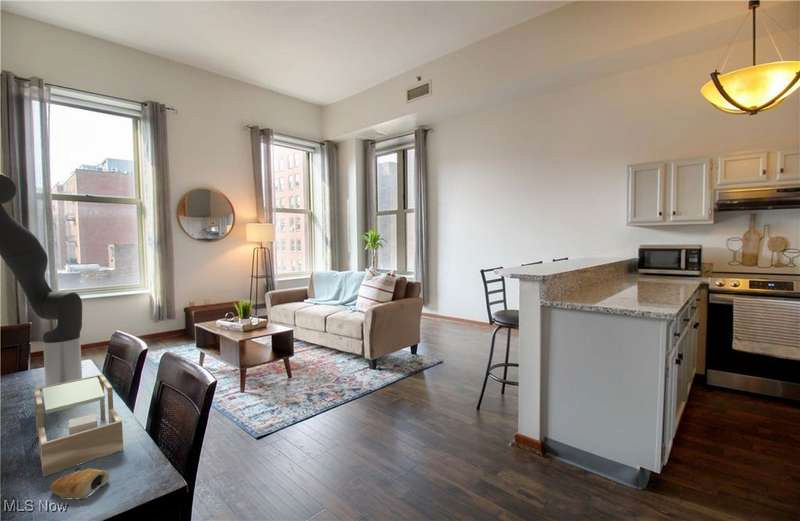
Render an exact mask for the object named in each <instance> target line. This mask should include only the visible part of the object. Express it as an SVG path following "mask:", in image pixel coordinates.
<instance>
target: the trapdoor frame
mask: <svg viewBox="0 0 800 521" xmlns="http://www.w3.org/2000/svg"><path fill="white" fill-rule="evenodd" d="M94 377H98V380H99V382H100V385H101V387H102V390H103V392H104V393H105V390H106V392H107V406H108V407H107V408H108V410H107V411H108V423H107V424H103V425H100V426H99V425H98V427H96V428H92V429H89V430H85V431H82V432H79V433H75V434H72V435H69V434H68V435H65V436H62V437H61V436H60V437H58V438H55V439H51V440H47V435H46V430H45V422H44V421H45V420H44V419H45V418H44V401H43V397H42V394H41V392H42V388H47V387H52V386H56V385H61V384H66V383H71V382H75V381H80V380H85V379H90V378H94ZM33 391H34V407H35V408H34V410H35V425H36V427H35V429H36V437H37V438H38V442H39V446H38V447H39V458H40V464H41V465H40V466H41V470H42V471H41V472H42V477H43V478H45V477H48V476H51V475H54V474H56V472H57V473H59V472H61V471H60V470H62V471H64V470H63V469H65V470H67V469H66V468H68V469H70V468H69V467H71V468H73V467H72V466H74V467H76V466H75V465H77V464H80V463H83V462H86V461H89V460H92V461H94V460H93V459H95V460H97V459H96V458H98V459H101V458H104V457H107V456H109V454H110V455H112V454H111V453H113V454H115V453H114V452H116V453H118V452H117V451H119V452H121V451H120V450H122V451H124V435H123V431H124V430H123V420H122V419H121V417H120V416H119V414H118V413H117V412H116V410H115V408H114V395H113V394H114V393H113V392H114V391H113V386H112V384H111V383H110V382H109V380H108V379H107V378H106V377H105V375H104V374H97V375H93V376H87V377H84V378H83V377H82V379H77V380H73V381H68V382H63V383H58V384H53V385H49V386H40V387H36V388H33ZM105 400H106V398H105V399H104V400H100V401H99V406H100V407H99V408H100V420H104V419H106V408H105V407H106V406H105V405H106V404H105V403H106V401H105ZM103 456H104V457H103ZM100 457H101V458H100ZM89 462H90V461H89ZM86 463H87V462H86ZM83 464H84V463H83ZM80 465H81V464H80ZM77 466H78V465H77ZM58 471H59V472H58ZM53 473H54V474H53ZM50 474H51V475H50Z"/></svg>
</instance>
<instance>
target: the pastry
mask: <svg viewBox="0 0 800 521" xmlns="http://www.w3.org/2000/svg"><path fill="white" fill-rule="evenodd" d="M109 479H110V473H109V472H108V471H107V470H106V469H98V468H97V469H96V468H87V469H84V470H79V471H74V472H72V473H68V474H66V475H64V476H62V477H59V478H58V479H56V480H54V481H53V482H51V484H50V489H49V490H50V492H51V493H53V494H54V495H55V496H58V497H59V498H60V499H61V498H72V499H76V498H79V499H82V498H85V497H87V496H88V495H89V494H90V493H92V492H93V491H95V490H96V489H97V488H98V487H99V486H102V487H104V485H107V483H109V482H108V481H109Z"/></svg>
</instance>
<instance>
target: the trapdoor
mask: <svg viewBox="0 0 800 521" xmlns="http://www.w3.org/2000/svg"><path fill="white" fill-rule="evenodd" d="M41 392H42V400H43V406H44V409H45V414H47V415H48V414H51V413H54V412H58V411H62V410H67V409H71V408H75V407H79V406H83V405H86V404H91V403H95V402H100V400H104V399H105V400H106V395H105V391H104V392H103V390H102V387H101V385H100V382H99V379H98V377H94V378H90V379H85V380H80V381H75V382H71V383H66V384H61V385H56V386H52V387H47V388H42V391H41Z"/></svg>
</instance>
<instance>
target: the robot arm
mask: <svg viewBox="0 0 800 521" xmlns="http://www.w3.org/2000/svg"><path fill="white" fill-rule="evenodd" d="M16 194H17V185H16V183H15V182H14V180H13V179H12V178H11V177H9V176H7V175H6V174H4V173H2V172H0V257H1V258H2V260H3V261H4V263H5V264H6V265H7V267H8V268H9V269H10V271H11V272H12V274H13V275H14V277H15V279H16V280H17V282H18V283H19V285H20V287H21V289H22V290H23V293H24V294H25V296H26V298H27V300H28V302H29V304H30V306H31V310H33V312H34V313H35V315H36V316H37V317H39V318H40V319H42V320H49V321H51V320H52V321H54V320H55V321H56V320H57V322H56V327H54V328H53V329H51V330H48V331H45V332H44V333H43V334H42V346H43V347H42V349H43V363H44V365H43V367H44V383H45V386H49V385H53V384H58V383H63V382H68V381H73V380H77V379H82V378H83V371H82V370H83V369H82V367H83V366H82V350H81V349H82V347H81V332H82V328H83V302H82V298H81V296H80V295H79V293H76V292H74V291H54V290H52V288H51V287H50V286H49V284H48V282H47V280H46V277H45V276H46V271H47V267H48V263H49V262H48V260H49V259H48V255H47V253H46V251H45V249H44V247H43V246H42V244H41V242H40V241H39V239H38V238H37V237H36V236H35V234H33V233H32V231H30V230H29V229H27V227H25V226H24V225H23V224H22V223H20V222H19V221H18V220H17V219H16V218H14V217H13V216H12V215H11V214H10V213H9V212H8V211H7V209H6V208H5V206H4V205H3V204H6V203H8V202H10V201H12V200H13V199H14V197H15V196H16Z"/></svg>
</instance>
